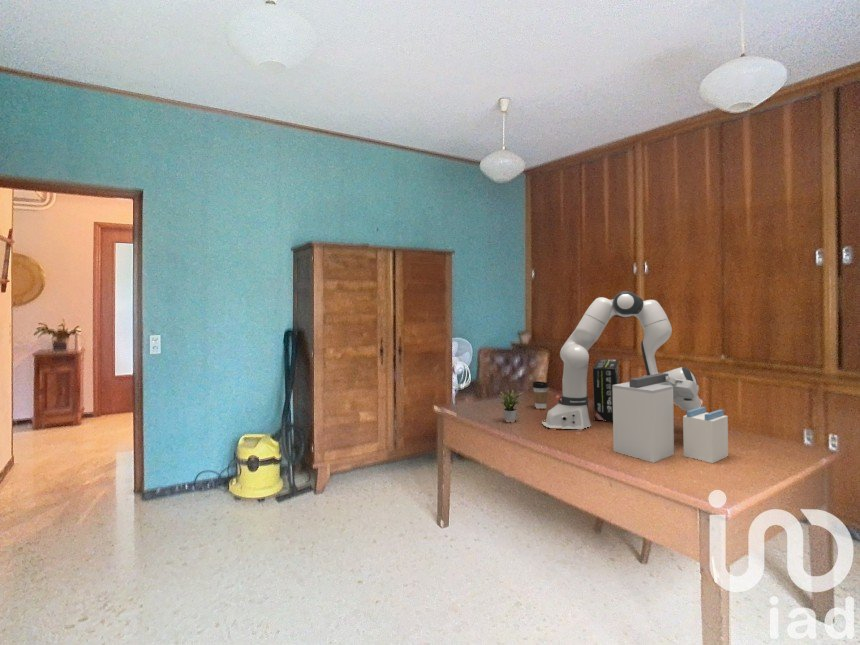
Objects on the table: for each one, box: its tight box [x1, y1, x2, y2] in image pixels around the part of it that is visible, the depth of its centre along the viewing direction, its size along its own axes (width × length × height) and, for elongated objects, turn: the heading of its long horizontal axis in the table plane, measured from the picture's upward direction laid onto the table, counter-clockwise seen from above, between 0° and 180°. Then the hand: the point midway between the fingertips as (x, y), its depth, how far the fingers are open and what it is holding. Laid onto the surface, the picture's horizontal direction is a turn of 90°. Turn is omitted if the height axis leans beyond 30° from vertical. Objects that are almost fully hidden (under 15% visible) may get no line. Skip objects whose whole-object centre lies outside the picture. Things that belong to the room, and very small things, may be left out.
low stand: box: [682, 406, 729, 464], centre depth 166 cm, size 12×10×17 cm
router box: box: [592, 358, 620, 422], centre depth 234 cm, size 36×11×27 cm, turn 156°
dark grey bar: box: [628, 372, 668, 388], centre depth 174 cm, size 22×3×3 cm, turn 124°
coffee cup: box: [532, 380, 549, 409], centre depth 249 cm, size 8×8×15 cm
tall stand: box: [612, 381, 675, 463], centre depth 171 cm, size 14×16×26 cm
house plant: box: [498, 389, 524, 421], centre depth 222 cm, size 14×14×16 cm
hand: (659, 376), depth 178 cm, fingers open, 3 cm apart
